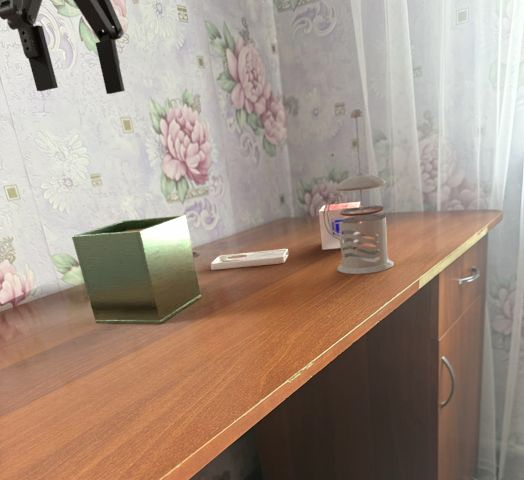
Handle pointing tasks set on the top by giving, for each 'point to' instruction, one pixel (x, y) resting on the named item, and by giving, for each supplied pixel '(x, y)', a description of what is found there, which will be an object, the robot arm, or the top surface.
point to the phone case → (250, 259)
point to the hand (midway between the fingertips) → (84, 91)
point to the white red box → (334, 224)
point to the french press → (361, 226)
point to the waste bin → (138, 270)
